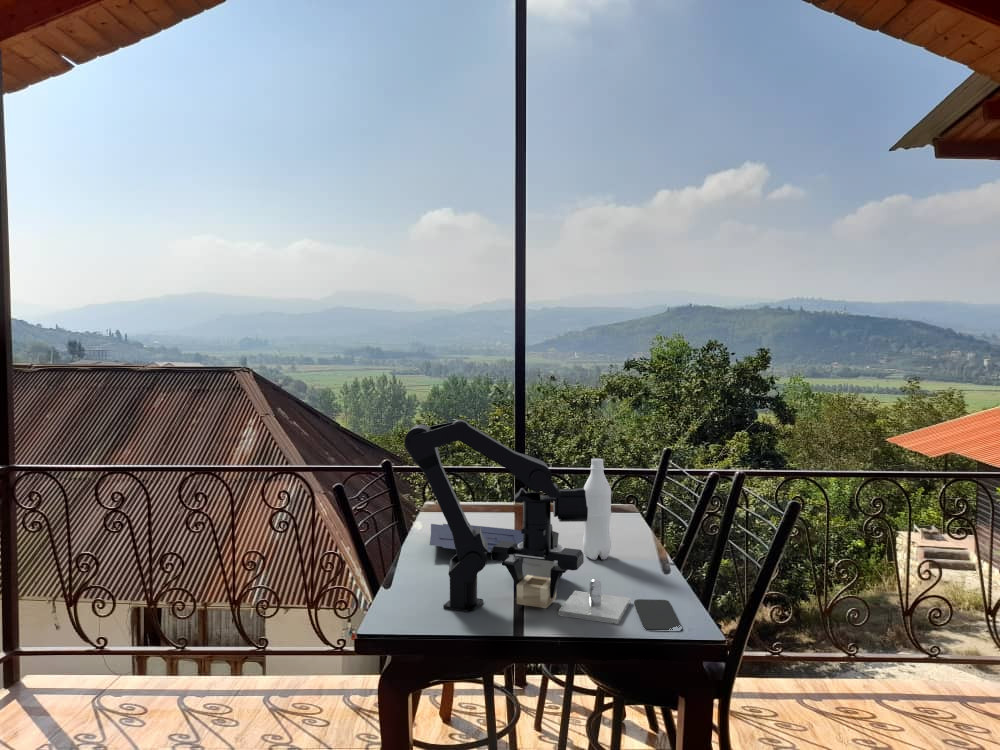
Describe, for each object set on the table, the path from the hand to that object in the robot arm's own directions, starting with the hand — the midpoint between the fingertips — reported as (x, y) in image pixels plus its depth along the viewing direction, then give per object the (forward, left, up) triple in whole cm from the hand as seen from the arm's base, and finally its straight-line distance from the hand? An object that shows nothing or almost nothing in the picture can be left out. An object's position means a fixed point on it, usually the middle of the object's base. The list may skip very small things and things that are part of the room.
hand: (536, 595), depth 146 cm
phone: (+3, -24, -2) cm, 25 cm away
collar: (0, 0, -1) cm, 1 cm away
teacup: (+14, +3, -2) cm, 14 cm away
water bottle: (+36, -4, -2) cm, 36 cm away
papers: (+34, +26, -2) cm, 42 cm away
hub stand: (+2, -12, -2) cm, 12 cm away
